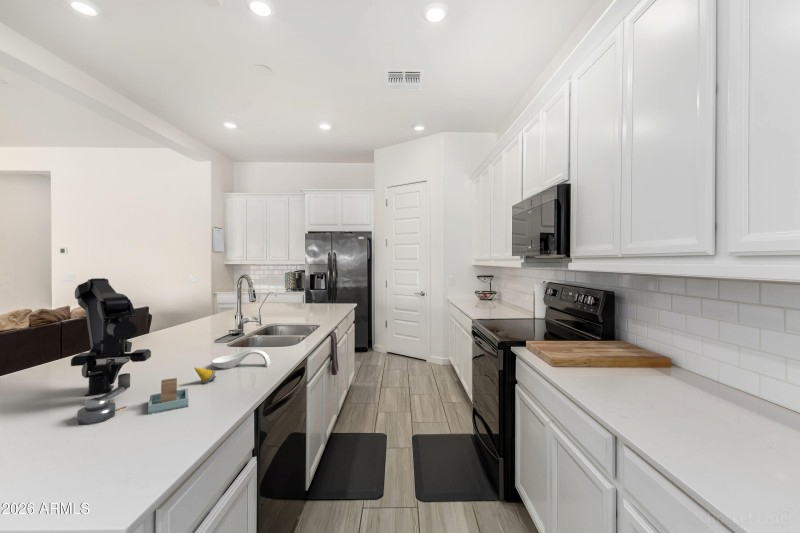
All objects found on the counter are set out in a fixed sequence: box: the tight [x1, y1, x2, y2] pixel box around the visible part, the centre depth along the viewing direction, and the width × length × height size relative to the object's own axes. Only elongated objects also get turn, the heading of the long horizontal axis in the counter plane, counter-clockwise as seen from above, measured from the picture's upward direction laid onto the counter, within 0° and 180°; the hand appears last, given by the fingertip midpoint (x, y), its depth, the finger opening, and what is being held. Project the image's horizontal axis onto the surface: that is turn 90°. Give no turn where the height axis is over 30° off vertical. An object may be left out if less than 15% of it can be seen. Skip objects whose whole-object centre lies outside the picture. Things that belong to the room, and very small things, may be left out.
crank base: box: [76, 401, 126, 426], centre depth 94 cm, size 9×10×3 cm
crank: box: [84, 372, 131, 411], centre depth 99 cm, size 16×5×5 cm, turn 11°
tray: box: [147, 388, 189, 415], centre depth 103 cm, size 10×10×2 cm
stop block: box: [160, 377, 178, 403], centre depth 103 cm, size 4×4×7 cm
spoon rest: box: [211, 348, 271, 370], centre depth 142 cm, size 24×12×7 cm, turn 98°
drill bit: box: [193, 366, 217, 385], centre depth 121 cm, size 5×5×10 cm
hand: (112, 383), depth 104 cm, fingers closed
